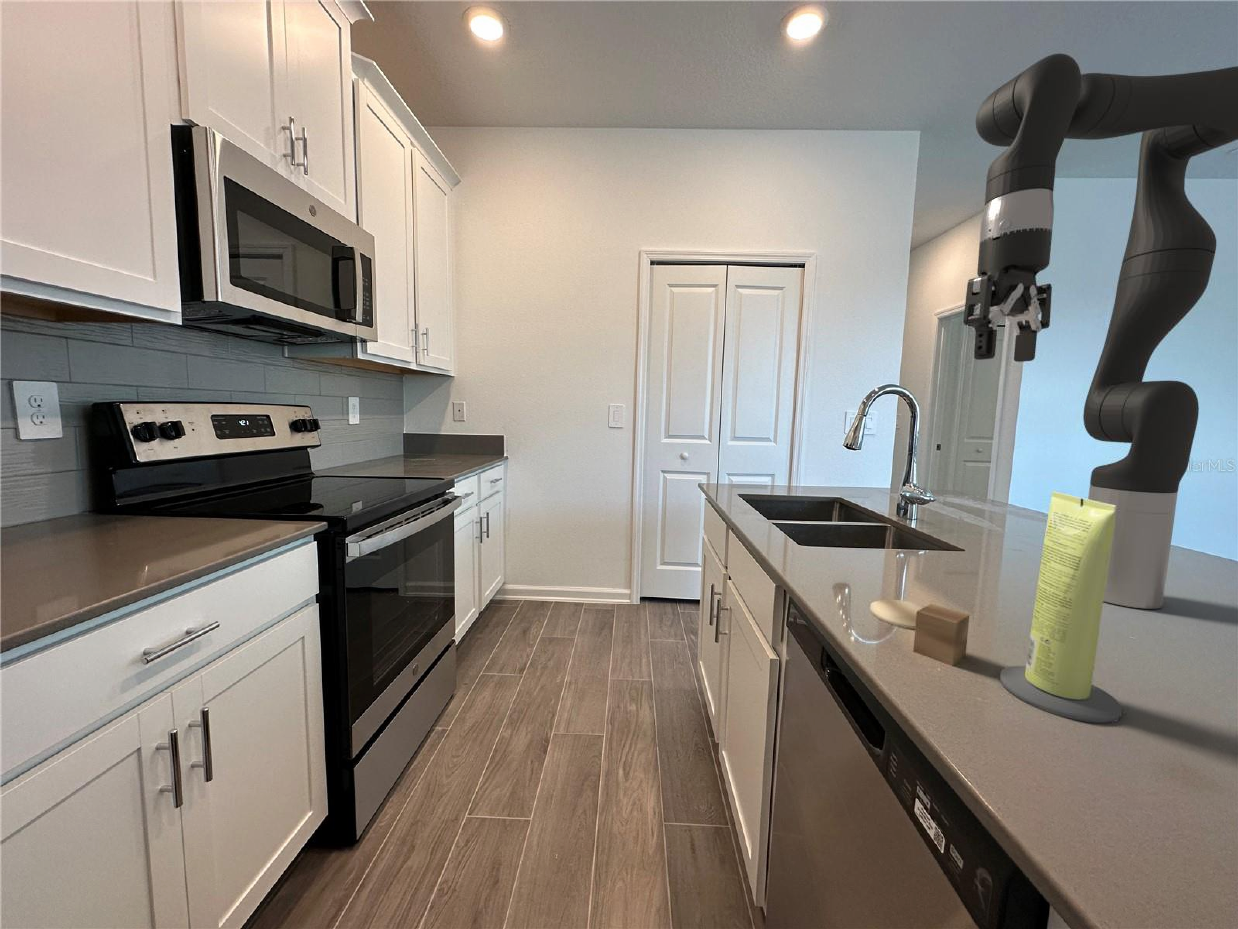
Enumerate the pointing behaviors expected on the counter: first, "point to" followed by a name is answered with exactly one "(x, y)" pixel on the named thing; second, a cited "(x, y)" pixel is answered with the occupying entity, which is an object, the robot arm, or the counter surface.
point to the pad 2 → (1061, 699)
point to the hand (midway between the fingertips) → (1004, 360)
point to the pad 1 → (896, 612)
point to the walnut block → (941, 634)
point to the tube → (1070, 596)
